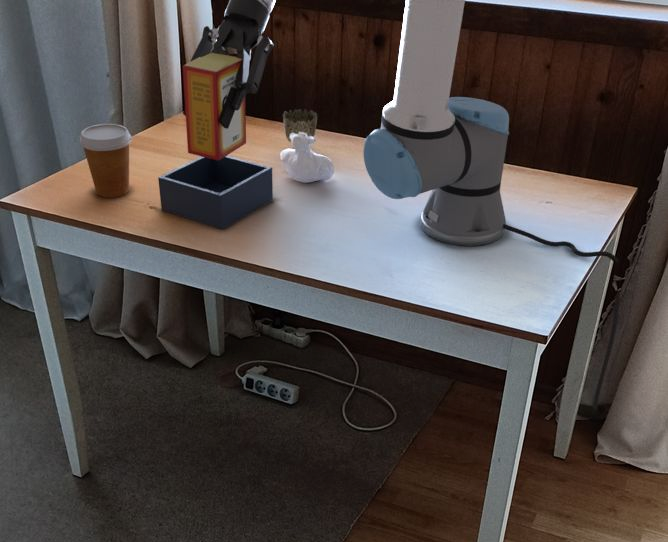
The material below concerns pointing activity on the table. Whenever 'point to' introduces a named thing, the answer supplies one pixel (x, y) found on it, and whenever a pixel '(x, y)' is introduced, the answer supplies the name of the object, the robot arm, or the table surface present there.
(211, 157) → the baking soda box
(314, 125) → the cup
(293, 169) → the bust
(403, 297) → the table surface
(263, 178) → the bin
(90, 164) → the disposable coffee cup
